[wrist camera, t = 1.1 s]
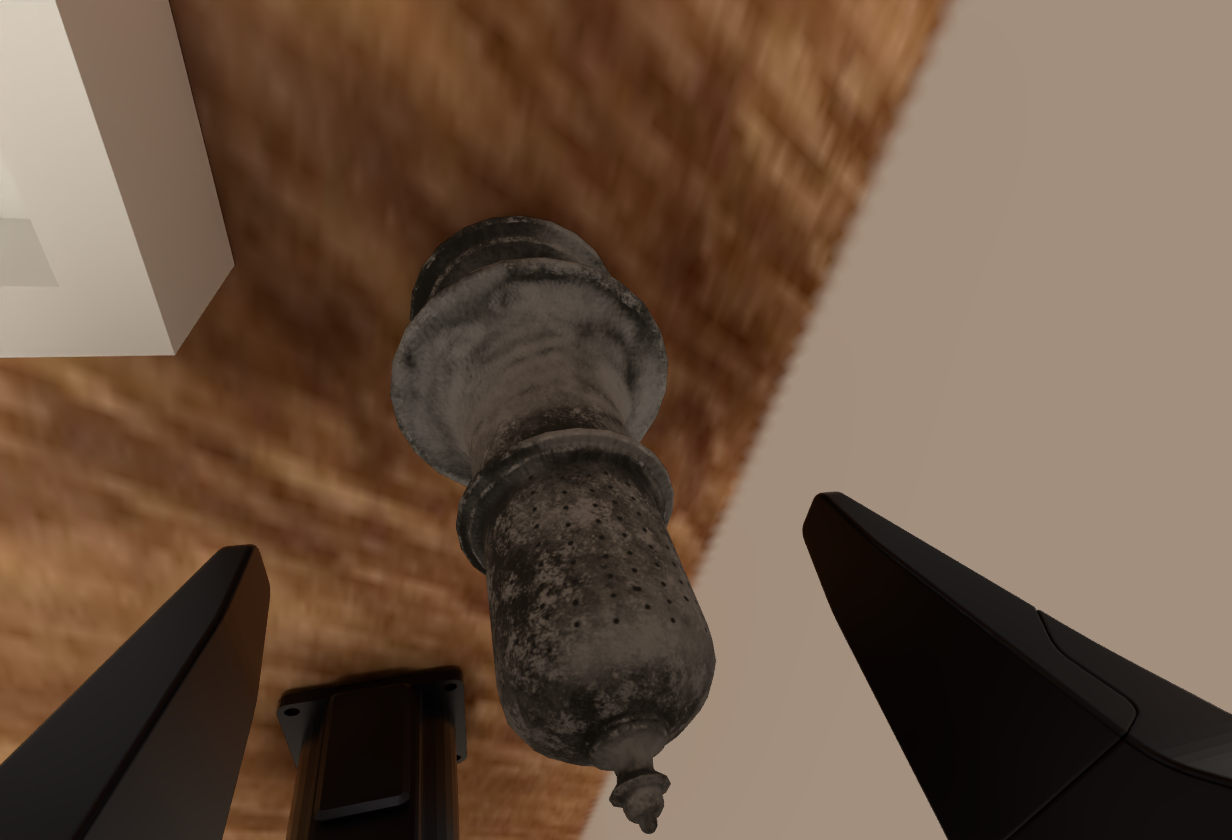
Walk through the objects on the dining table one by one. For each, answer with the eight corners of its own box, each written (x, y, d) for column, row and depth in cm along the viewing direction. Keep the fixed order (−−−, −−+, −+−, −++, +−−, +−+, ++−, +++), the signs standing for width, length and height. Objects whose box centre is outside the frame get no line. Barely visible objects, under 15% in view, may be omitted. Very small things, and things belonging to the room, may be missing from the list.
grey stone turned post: (524, 146, 13) (752, 558, 4) (668, 319, 17) (971, 757, 7) (343, 316, 14) (189, 940, 5) (512, 445, 18) (604, 957, 9)
